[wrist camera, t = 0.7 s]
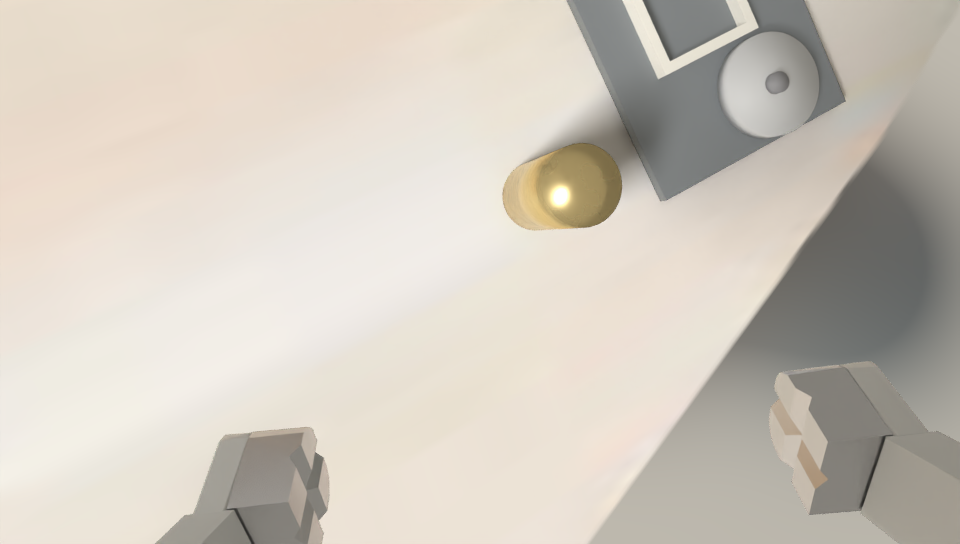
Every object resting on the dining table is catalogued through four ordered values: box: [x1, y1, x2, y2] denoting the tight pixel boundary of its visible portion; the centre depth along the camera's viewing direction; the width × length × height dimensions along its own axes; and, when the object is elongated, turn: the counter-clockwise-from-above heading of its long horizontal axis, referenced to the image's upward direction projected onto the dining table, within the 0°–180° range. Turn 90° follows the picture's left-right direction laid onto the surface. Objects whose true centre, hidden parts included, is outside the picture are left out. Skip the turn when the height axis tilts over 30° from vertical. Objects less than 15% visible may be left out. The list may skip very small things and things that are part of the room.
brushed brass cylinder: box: [503, 143, 622, 230], centre depth 47 cm, size 5×5×10 cm
